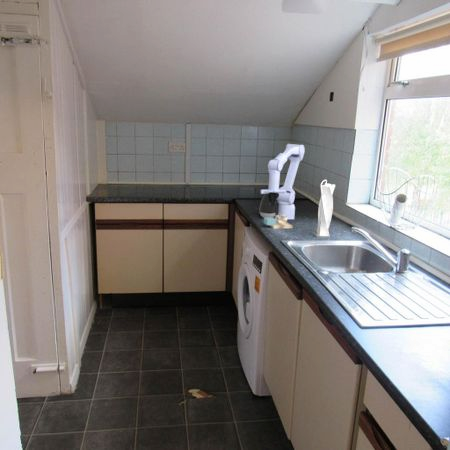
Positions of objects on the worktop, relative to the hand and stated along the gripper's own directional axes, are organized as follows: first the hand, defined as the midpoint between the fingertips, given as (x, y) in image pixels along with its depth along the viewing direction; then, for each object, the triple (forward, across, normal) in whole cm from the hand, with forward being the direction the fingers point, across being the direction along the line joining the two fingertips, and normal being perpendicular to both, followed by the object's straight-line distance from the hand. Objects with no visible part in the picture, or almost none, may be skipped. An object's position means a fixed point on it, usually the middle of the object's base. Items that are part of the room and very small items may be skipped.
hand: (272, 206), depth 241 cm
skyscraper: (+10, +16, -29) cm, 34 cm away
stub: (+8, -5, -8) cm, 12 cm away
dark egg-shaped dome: (+10, +3, +13) cm, 16 cm away
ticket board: (+9, +2, -6) cm, 12 cm away
